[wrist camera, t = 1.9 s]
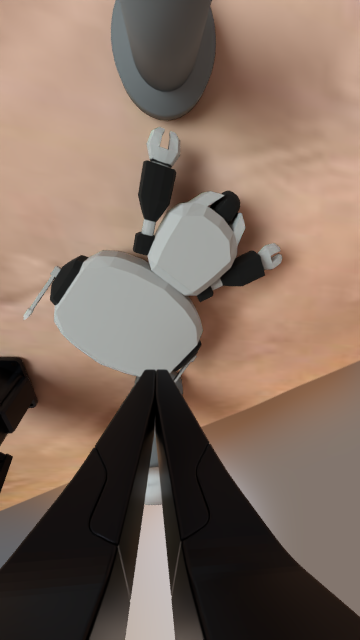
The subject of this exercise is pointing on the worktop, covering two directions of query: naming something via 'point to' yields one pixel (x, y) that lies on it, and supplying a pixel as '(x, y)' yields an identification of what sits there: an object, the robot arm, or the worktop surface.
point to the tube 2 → (156, 463)
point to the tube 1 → (163, 53)
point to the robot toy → (155, 276)
